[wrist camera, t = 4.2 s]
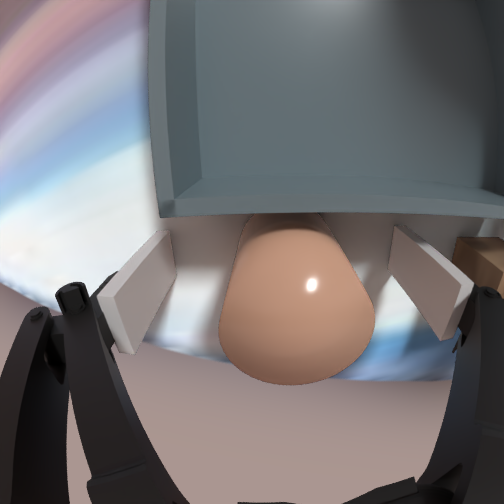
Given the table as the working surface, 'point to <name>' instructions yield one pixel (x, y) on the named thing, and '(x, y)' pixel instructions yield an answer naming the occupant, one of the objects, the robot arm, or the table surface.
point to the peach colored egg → (293, 302)
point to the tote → (327, 106)
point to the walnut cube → (481, 260)
